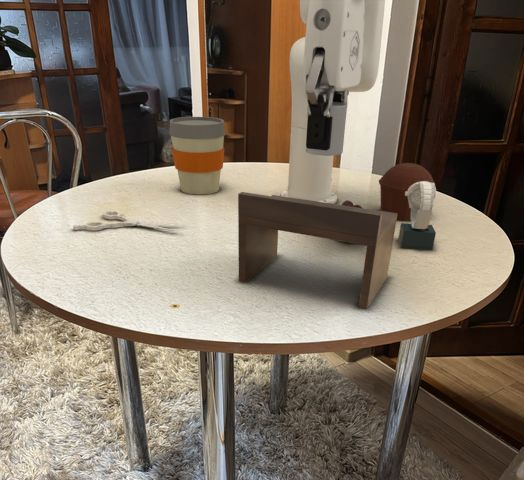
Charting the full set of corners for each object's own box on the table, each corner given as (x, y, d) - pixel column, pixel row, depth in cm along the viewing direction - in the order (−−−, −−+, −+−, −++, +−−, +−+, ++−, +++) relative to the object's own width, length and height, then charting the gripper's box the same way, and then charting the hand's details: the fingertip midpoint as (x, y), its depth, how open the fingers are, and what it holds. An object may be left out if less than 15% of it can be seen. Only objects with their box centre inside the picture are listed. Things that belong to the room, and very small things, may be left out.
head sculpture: (426, 237, 96) (438, 177, 90) (434, 253, 89) (447, 189, 83) (396, 236, 96) (406, 176, 90) (401, 251, 90) (412, 187, 84)
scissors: (100, 209, 103) (193, 217, 100) (100, 213, 104) (193, 221, 100) (72, 226, 95) (173, 235, 91) (73, 230, 95) (174, 239, 91)
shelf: (270, 255, 87) (273, 175, 80) (387, 277, 80) (401, 192, 73) (238, 281, 78) (238, 193, 71) (366, 309, 71) (380, 215, 64)
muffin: (381, 203, 114) (388, 156, 109) (432, 210, 111) (441, 162, 105) (369, 218, 105) (375, 167, 100) (423, 226, 101) (433, 174, 96)
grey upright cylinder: (313, 147, 73) (316, 100, 70) (347, 150, 71) (352, 103, 68) (300, 153, 69) (303, 104, 66) (335, 157, 67) (340, 106, 64)
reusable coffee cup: (162, 189, 120) (156, 120, 112) (200, 179, 129) (198, 114, 121) (199, 199, 114) (195, 127, 106) (237, 189, 122) (237, 121, 114)
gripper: (347, -27, 52) (331, 160, 62) (387, -14, 65) (368, 138, 75) (280, -26, 55) (274, 153, 64) (331, -13, 68) (320, 134, 77)
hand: (325, 144), depth 69 cm, fingers closed on grey upright cylinder, 5 cm apart
